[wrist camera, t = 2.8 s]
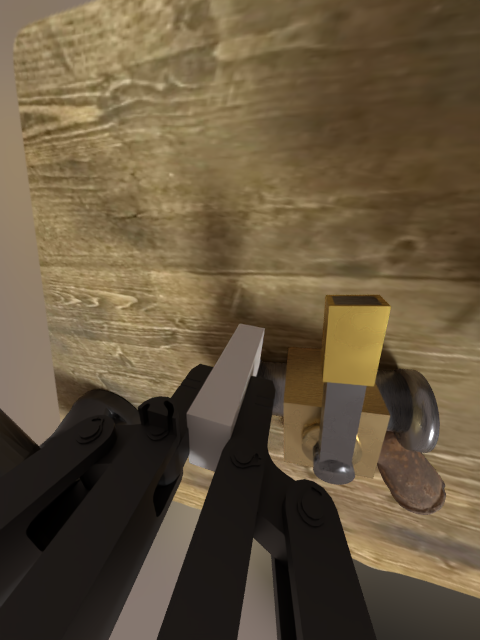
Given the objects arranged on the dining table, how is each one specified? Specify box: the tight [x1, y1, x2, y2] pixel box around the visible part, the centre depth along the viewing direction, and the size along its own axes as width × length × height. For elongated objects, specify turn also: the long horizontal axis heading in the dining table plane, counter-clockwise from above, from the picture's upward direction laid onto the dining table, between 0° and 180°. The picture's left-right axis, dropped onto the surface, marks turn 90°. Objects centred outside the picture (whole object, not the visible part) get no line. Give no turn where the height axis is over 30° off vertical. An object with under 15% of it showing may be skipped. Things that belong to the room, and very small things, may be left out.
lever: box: [312, 295, 391, 484], centre depth 15 cm, size 16×3×2 cm, turn 6°
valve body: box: [256, 347, 440, 479], centre depth 23 cm, size 17×8×10 cm, turn 96°
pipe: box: [377, 431, 446, 515], centre depth 28 cm, size 6×17×10 cm
